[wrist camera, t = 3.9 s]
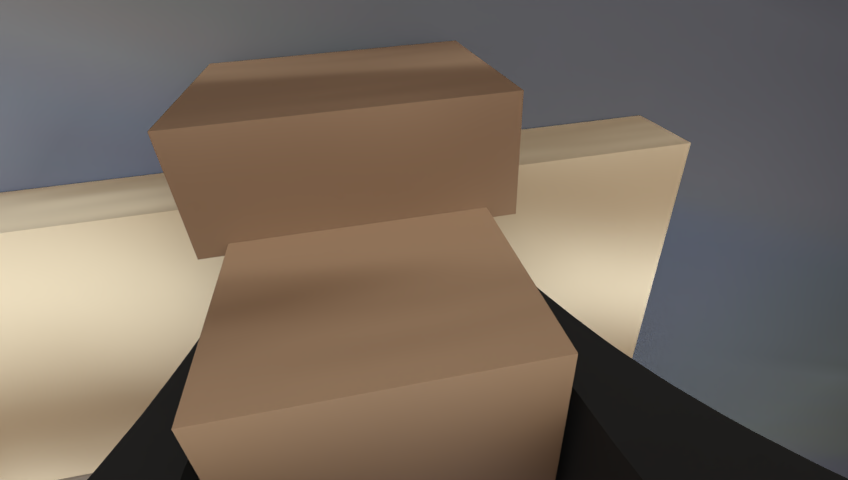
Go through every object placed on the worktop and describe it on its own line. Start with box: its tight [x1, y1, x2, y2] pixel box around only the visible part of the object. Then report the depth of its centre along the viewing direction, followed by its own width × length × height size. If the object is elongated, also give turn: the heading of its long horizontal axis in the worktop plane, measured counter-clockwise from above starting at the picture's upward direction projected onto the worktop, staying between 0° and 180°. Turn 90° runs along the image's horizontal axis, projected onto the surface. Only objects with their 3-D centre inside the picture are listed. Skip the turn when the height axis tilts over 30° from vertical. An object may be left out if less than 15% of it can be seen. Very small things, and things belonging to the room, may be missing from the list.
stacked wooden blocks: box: [148, 41, 578, 480], centre depth 9 cm, size 10×5×7 cm, turn 3°
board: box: [0, 115, 691, 480], centre depth 13 cm, size 12×24×2 cm, turn 93°
